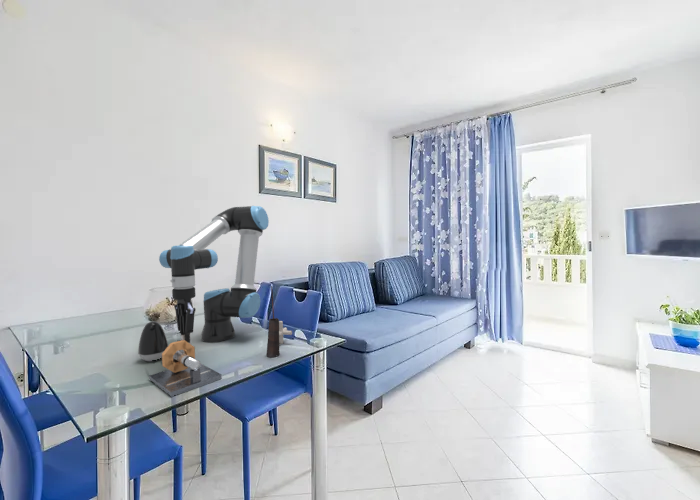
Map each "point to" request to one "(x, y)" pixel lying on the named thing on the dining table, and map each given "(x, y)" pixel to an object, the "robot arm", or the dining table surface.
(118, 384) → the dining table surface
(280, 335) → the pipe connector
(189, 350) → the ring
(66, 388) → the dining table surface
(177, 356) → the pipe stand
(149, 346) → the black dome
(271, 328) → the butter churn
